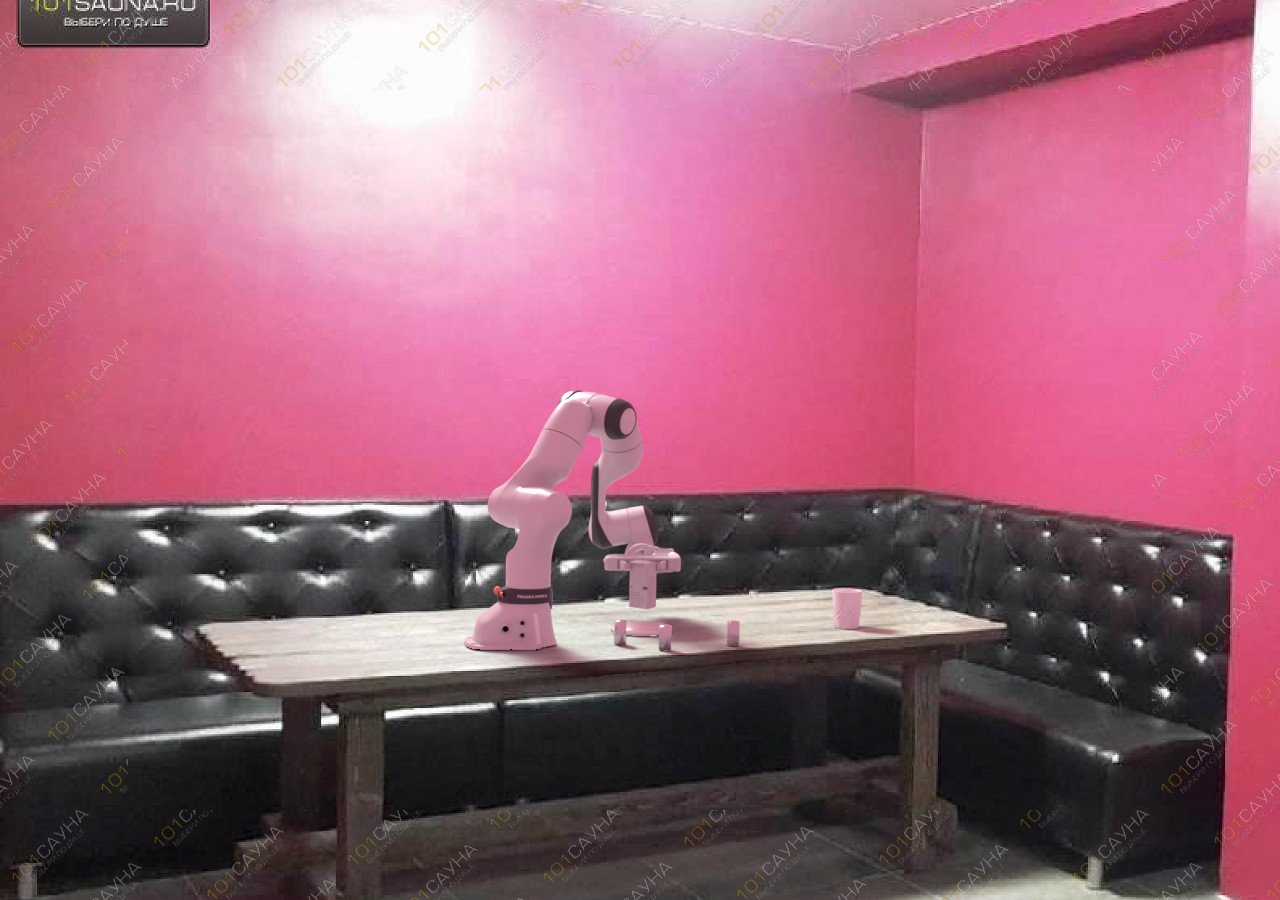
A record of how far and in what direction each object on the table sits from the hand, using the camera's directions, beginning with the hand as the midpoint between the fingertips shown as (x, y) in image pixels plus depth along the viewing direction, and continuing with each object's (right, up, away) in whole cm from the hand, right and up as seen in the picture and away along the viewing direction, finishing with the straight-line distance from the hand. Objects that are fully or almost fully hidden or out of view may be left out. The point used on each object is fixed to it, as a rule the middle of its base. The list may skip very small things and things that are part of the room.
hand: (643, 566), depth 355 cm
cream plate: (-1, -17, +2) cm, 17 cm away
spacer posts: (+8, -18, -18) cm, 27 cm away
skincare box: (0, -11, +1) cm, 11 cm away
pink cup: (+55, -17, +13) cm, 59 cm away
